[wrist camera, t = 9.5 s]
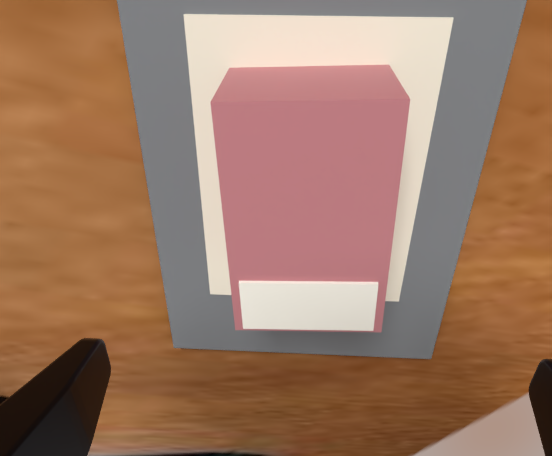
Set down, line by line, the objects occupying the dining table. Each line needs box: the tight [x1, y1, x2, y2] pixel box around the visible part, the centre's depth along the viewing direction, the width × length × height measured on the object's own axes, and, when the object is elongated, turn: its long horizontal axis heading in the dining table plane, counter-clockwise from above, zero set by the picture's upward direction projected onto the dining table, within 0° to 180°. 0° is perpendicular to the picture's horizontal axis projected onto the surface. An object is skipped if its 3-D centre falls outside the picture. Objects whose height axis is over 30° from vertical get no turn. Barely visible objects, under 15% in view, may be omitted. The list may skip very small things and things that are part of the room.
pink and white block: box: [210, 65, 410, 332], centre depth 15 cm, size 5×8×4 cm, turn 2°
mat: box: [117, 0, 527, 359], centre depth 17 cm, size 18×12×1 cm, turn 0°
